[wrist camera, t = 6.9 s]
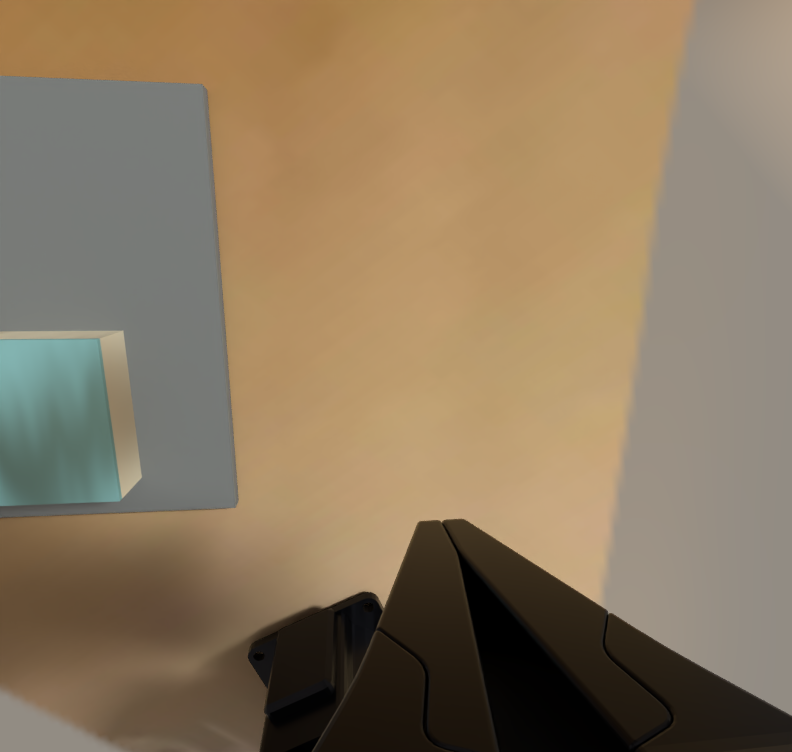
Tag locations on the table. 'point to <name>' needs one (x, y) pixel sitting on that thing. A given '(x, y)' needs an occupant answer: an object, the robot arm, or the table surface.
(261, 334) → the table surface
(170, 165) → the mat
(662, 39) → the table surface
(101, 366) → the tile
